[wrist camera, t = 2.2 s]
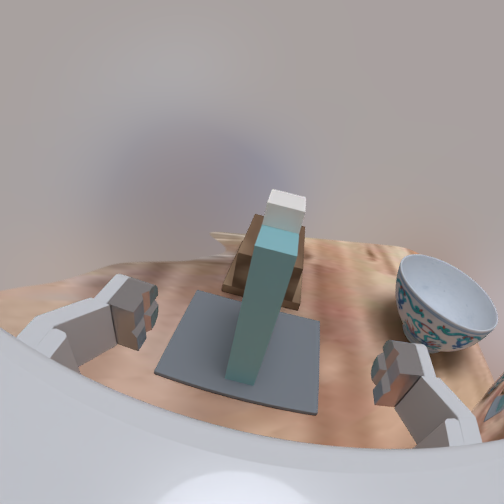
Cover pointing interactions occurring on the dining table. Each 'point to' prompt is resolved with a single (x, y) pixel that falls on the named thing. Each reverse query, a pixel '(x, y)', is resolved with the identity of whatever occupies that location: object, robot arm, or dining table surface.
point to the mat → (219, 347)
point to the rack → (242, 262)
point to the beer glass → (491, 412)
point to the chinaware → (441, 305)
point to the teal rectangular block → (266, 284)
